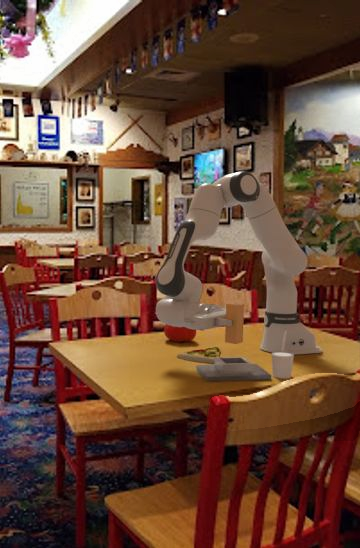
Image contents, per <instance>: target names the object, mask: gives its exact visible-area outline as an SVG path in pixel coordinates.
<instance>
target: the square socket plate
mask: <svg viewBox="0 0 360 548" xmlns="http://www.w3.org/2000/svg"><path fill="white" fill-rule="evenodd" d="M195 369H196V371H197V372H198V373H199V374H200V376H201V377H203V379H204V380H205V381H206V382H208V383H209V382H212V383H213V382H241V381H243V382H244V381H249V382H250V381H271V380H272V374H270V373H269V372H268V371H266V370H265V369H264V368H263V367H262V366H260V365H258V364H257V363H252V361H249V360H248V359H247V358H246V357H244V356H219V357H215V364H198V365H197V364H196V368H195Z"/></svg>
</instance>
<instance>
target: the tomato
mask: <svg viewBox="0 0 360 548" xmlns="http://www.w3.org/2000/svg"><path fill="white" fill-rule="evenodd" d="M163 332H164V335H165V337H166V338H167V339H168V340H170V341H172V342H173V341H174V342H177V343H179V342H185V343H186V342H187V343H188V342H190V341H193V340H194V339H195V338H196V335H197V330H194V329H189V328H186V327H176V326H171V325H167V324H164V329H163Z"/></svg>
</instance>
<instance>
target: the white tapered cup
mask: <svg viewBox="0 0 360 548" xmlns="http://www.w3.org/2000/svg"><path fill="white" fill-rule="evenodd" d="M294 358H295V355H293V354H291V353H286V352H274V353H273V352H271V365H272V377H274V378H275V379H276V378H277V379H291V378H292V371H293V365H294Z"/></svg>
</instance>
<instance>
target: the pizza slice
mask: <svg viewBox="0 0 360 548" xmlns="http://www.w3.org/2000/svg"><path fill="white" fill-rule="evenodd" d="M220 352H221V348H219V347H217V346H213V347H208V348H205V349H193V350H190V351H189V350H188V351H187V350H186V351H183V352H181V353H177V354H176V358H177V359H181V360H184V361H185V360H186V361H188V362H189V361H190V362H195V363H203V364H205V363H206V364H212V365H215V357H220Z"/></svg>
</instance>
